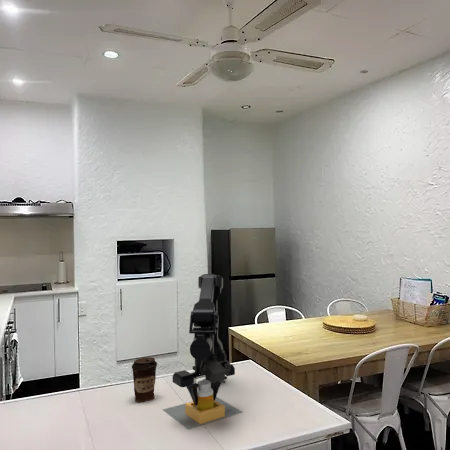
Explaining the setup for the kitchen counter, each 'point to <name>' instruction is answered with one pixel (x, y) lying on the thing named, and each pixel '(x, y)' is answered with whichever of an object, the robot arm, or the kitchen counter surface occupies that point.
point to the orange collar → (205, 412)
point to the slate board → (189, 423)
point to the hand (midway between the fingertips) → (204, 402)
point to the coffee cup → (144, 378)
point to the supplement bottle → (205, 395)
